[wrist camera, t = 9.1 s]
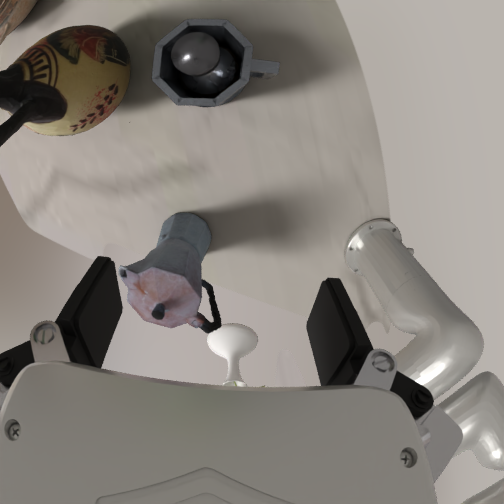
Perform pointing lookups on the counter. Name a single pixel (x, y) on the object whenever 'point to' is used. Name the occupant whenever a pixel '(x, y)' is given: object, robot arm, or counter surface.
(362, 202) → the counter surface
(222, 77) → the dark grey stemmed piece
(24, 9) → the cooking pot
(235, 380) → the flower in vase
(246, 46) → the carafe
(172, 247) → the moka pot
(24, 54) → the ceramic jug
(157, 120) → the counter surface
